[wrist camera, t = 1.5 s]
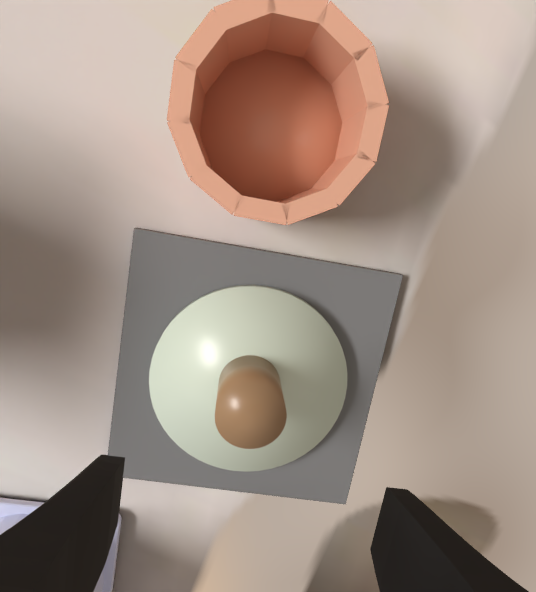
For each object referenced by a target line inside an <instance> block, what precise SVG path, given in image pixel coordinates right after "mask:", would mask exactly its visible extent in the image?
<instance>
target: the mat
mask: <svg viewBox="0 0 536 592" xmlns="http://www.w3.org/2000/svg"><path fill="white" fill-rule="evenodd" d="M402 277H403V275H401V274H398V273H392V272H387V271H381V270H375V269H370V268H364V267H358V266H352V265H347V264H341V263H335V262H329V261H324V260H318V259H312V258H306V257H301V256H295V255H289V254H283V253H278V252H272V251H266V250H261V249H255V248H249V247H243V246H238V245H232V244H226V243H220V242H215V241H209V240H203V239H197V238H192V237H186V236H180V235H174V234H169V233H163V232H157V231H152V230H146V229H140V228H134V234H133V243H132V251H131V260H130V268H129V277H128V286H127V294H126V303H125V311H124V320H123V329H122V337H121V346H120V354H119V363H118V372H117V380H116V389H115V397H114V406H113V415H112V423H111V432H110V440H109V449H108V455H109V456H118V457H125V464H124V472H123V478H130V479H138V480H147V481H155V482H163V483H172V484H180V485H188V486H197V487H205V488H213V489H222V490H230V491H238V492H247V493H255V494H263V495H272V496H280V497H289V498H297V499H305V500H314V501H322V502H330V503H339V504H346V500H347V496H348V492H349V489H350V484H351V481H352V476H353V473H354V468H355V465H356V461H357V457H358V453H359V448H360V445H361V441H362V437H363V432H364V428H365V425H366V421H367V417H368V413H369V408H370V405H371V401H372V397H373V393H374V388H375V385H376V381H377V377H378V373H379V369H380V365H381V361H382V357H383V353H384V349H385V345H386V341H387V337H388V333H389V329H390V325H391V321H392V317H393V313H394V309H395V305H396V301H397V297H398V293H399V289H400V285H401V281H402ZM252 284H253V285H263V286H269V287H274V288H278V289H281V290H284V291H286V292H289V293H292V294H293V295H295V296H297V297H299V298H301V299H303V300H304V301H306V302H307V303H308V304H310V305H311V306H313V307H314V308H315V309H316V310H317V311H318V312H319V313H320V314H321V315H322V316H323V317H324V319H325V320H326V321H327V322H328V324H329V325H330V326H331V328H332V330H333V331H334V333H335V335H336V336H337V338H338V340H339V342H340V344H341V347H342V349H343V352H344V356H345V360H346V366H347V390H346V397H345V400H344V404H343V407H342V410H341V412H340V414H339V416H338V418H337V420H336V422H335V424H334V425H333V427H332V428H331V430H330V431H329V432H328V434H327V435H326V436H325V437H324V438H323V440H321V441H320V442H319V443H318V444H317V445H316V446H315V447H314V448H313V449H311V450H310V451H309V452H307V453H306V454H305V455H303V456H301V457H299V458H298V459H296V460H294V461H292V462H289V463H287V464H285V465H282V466H279V467H275V468H272V469H267V470H261V471H249V472H244V471H232V470H226V469H221V468H218V467H215V466H211V465H209V464H206V463H204V462H202V461H200V460H198V459H196V458H194V457H193V456H191V455H189V454H188V453H187V452H185V451H184V450H183V449H181V448H180V447H179V446H178V445H177V444H176V443H175V442H174V441H173V440H172V439H171V438H170V437H169V435H168V434H167V433H166V431H165V430H164V429H163V427H162V425H161V424H160V422H159V420H158V418H157V416H156V413H155V411H154V408H153V405H152V401H151V397H150V389H149V371H150V365H151V360H152V357H153V354H154V351H155V348H156V346H157V344H158V342H159V340H160V338H161V336H162V334H163V332H164V330H165V329H166V328H167V326H168V325H169V323H170V322H171V321H172V320H173V318H174V317H175V316H176V315H177V314H178V313H179V312H180V311H181V310H182V309H184V308H185V307H186V306H187V305H189V304H190V303H191V302H193V301H195V300H196V299H198V298H199V297H201V296H203V295H205V294H208V293H210V292H212V291H215V290H218V289H221V288H225V287H230V286H236V285H252Z"/></svg>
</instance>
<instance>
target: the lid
mask: <svg viewBox="0 0 536 592" xmlns="http://www.w3.org/2000/svg"><path fill="white" fill-rule="evenodd" d="M149 389H150V397H151V401H152V405H153V408H154V411H155V413H156V416H157V418H158V420H159V422H160V424H161V425H162V427H163V429H164V430H165V431H166V433H167V434H168V435H169V437H170V438H171V439H172V440H173V441H174V442H175V443H176V444H177V445H178V446H179V447H180V448H181V449H183V450H184V451H185V452H187V453H188V454H189V455H191V456H193V457H194V458H196V459H198V460H200V461H202V462H204V463H206V464H209V465H211V466H215V467H218V468H221V469H226V470H232V471H244V472H249V471H261V470H267V469H272V468H275V467H279V466H282V465H285V464H287V463H289V462H292V461H294V460H296V459H298V458H299V457H301V456H303V455H305V454H306V453H307V452H309V451H310V450H311V449H313V448H314V447H315V446H316V445H317V444H318V443H319V442H320V441H321V440H323V438H324V437H325V436H326V435H327V434H328V432H329V431H330V430H331V428H332V427H333V425H334V424H335V422H336V420H337V418H338V416H339V414H340V412H341V410H342V407H343V404H344V400H345V397H346V390H347V366H346V360H345V356H344V352H343V349H342V347H341V344H340V342H339V340H338V338H337V336H336V335H335V333H334V331H333V330H332V328H331V326H330V325H329V324H328V322H327V321H326V320H325V319H324V317H323V316H322V315H321V314H320V313H319V312H318V311H317V310H316V309H315V308H314V307H313V306H311V305H310V304H308V303H307V302H306V301H304V300H303V299H301V298H299V297H297V296H295V295H293V294H292V293H289V292H286V291H284V290H281V289H278V288H274V287H269V286H263V285H253V284H252V285H236V286H230V287H225V288H221V289H218V290H215V291H212V292H210V293H208V294H205V295H203V296H201V297H199V298H198V299H196V300H195V301H193V302H191V303H190V304H189V305H187V306H186V307H185V308H184V309H182V310H181V311H180V312H179V313H178V314H177V315H176V316H175V317H174V318H173V320H172V321H171V322H170V323H169V325H168V326H167V328H166V329H165V330H164V332H163V334H162V336H161V338H160V340H159V342H158V344H157V346H156V348H155V351H154V354H153V357H152V360H151V365H150V371H149Z"/></svg>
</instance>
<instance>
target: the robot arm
mask: <svg viewBox="0 0 536 592" xmlns="http://www.w3.org/2000/svg"><path fill="white" fill-rule="evenodd" d="M124 464H125V457H118V456H109V455H101V456H99V457H98V458H97V459H95V460H94V461H93V462H92V463H91V464H90V465H89V466H88V467H86V468H85V469H84V470H83V471H82V472H81V473H80V474H79V475H77V476H76V477H75V478H74V479H73V480H72V481H70V482H69V483H68V484H67V485H66V486H65V487H63V488H62V489H61V490H60V491H58V492H57V493H56V494H55V495H54V496H52V497H51V498H50V499H49V500H47V501H46V502H45V503H44V502H35V501H26V500H17V499H8V498H0V592H112V591H113V583H114V575H115V567H116V559H117V552H118V544H119V536H120V528H121V520H122V519H121V515H120V514H119V508H120V499H121V490H122V481H123V472H124ZM371 554H372V559H373V564H374V569H375V573H376V577H377V581H378V585H379V589H380V592H528V591H527V590H526V589H524V588H523V587H521V586H520V585H519V584H517V583H516V582H515V581H513V580H512V579H511V578H510V577H508V576H507V575H506V574H504V573H503V572H502V571H501V570H499V569H498V568H497V567H496V566H495V565H493V564H492V563H491V562H490V561H488V560H487V559H486V558H485V557H484V556H482V555H481V554H480V553H479V552H478V551H477V550H475V549H474V548H473V547H472V546H471V545H470V544H468V543H467V542H466V541H465V540H464V539H463V538H462V537H460V536H459V535H458V534H457V533H456V532H455V531H454V530H453V529H451V528H450V527H449V526H448V525H447V524H446V523H445V522H444V521H443V520H442V519H440V518H439V517H438V516H437V515H436V514H435V513H434V512H433V511H432V510H431V509H429V508H428V507H427V506H426V505H425V504H424V503H423V502H422V501H421V500H419V499H418V498H417V497H416V496H415V495H413V494H412V493H411V492H410V491H408V490H405V489H397V488H388V487H387V488H386V491H385V495H384V499H383V503H382V506H381V510H380V514H379V518H378V522H377V526H376V530H375V534H374V537H373V541H372V545H371Z"/></svg>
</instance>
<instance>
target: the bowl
mask: <svg viewBox="0 0 536 592" xmlns="http://www.w3.org/2000/svg"><path fill="white" fill-rule="evenodd" d="M371 44H372V42H371V41H370V40H369V39H368V38H367V37H366V36H365V35H364V34H363V33H362V32H361V31H360V30H359V29H358V28H357V27H356V26H355V25H354V24H353V23H352V22H351V21H350V20H349V19H348V18H347V17H346V16H345V15H344V14H343V13H342V12H341V11H340V10H339V9H338V8H337V7H336V6H335V5H334V4H333V3H332V2H331V1H330V2H329V4H328V0H232V1H229V2H226V3H224V4H221V5H218V6H216V7H214V10H212V9H211V10H210V12H209V13H208V14H207V16H206V17H205V18H204V20H203V21H202V22H201V24H200V25H199V26H198V28H197V29H196V30H195V32H194V33H193V34H192V36H191V37H190V38H189V40H188V41H187V42H186V44H185V45H184V46H183V48H182V49H181V50H180V52H179V53H178V54H177V56H176V57H175V58H176V60H174V67H173V75H172V83H171V90H170V98H169V106H168V114H167V121H168V122H167V123H168V126H169V129H170V131H171V134H172V136H173V139H174V141H175V144H176V147H177V149H178V152H179V154H180V157H181V160H182V162H183V165H184V167H185V170H186V172H187V175H188V177H190V180H191V181H193V182H194V183H195V184H196V185H197V186H199V187H200V188H201V189H202V190H203V191H204V192H206V193H207V194H208V195H209V196H210V197H212V198H213V199H214V200H215V201H216V202H218V203H219V204H220V205H221V206H222V207H223V208H225V209H226V210H227V211H228V212H229V213H231V214H233V213H234V216H239V217H244V218H250V219H255V220H261V221H266V222H272V223H277V224H283V225H286V224H288V225H289V224H292V223H295V222H297V221H300V220H303V219H306V218H308V217H311V216H314V215H317V214H319V213H322V212H325V211H328V210H330V209H333V208H336V207H338V206H337V205H340V204H341V203H342V202H343V201H344V200H345V199H346V197H347V196H348V195H349V194H350V193H351V192H352V190H353V189H354V188H355V187H356V186H357V185H358V183H359V182H360V181H361V180H362V179H363V178H364V176H365V175H366V174H367V173H368V172H369V171H370V169H371V168H372V167H373V166H374V165H375V163H374V162H377V157H378V153H379V148H380V144H381V139H382V135H383V130H384V126H385V122H386V117H387V113H388V108H389V105H386V104H388V103H389V101H388V97H387V93H386V89H385V86H384V82H383V78H382V75H381V71H380V67H379V63H378V60H377V56H376V52H375V49H374V45H373V46H371ZM370 46H371V47H370Z"/></svg>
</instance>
